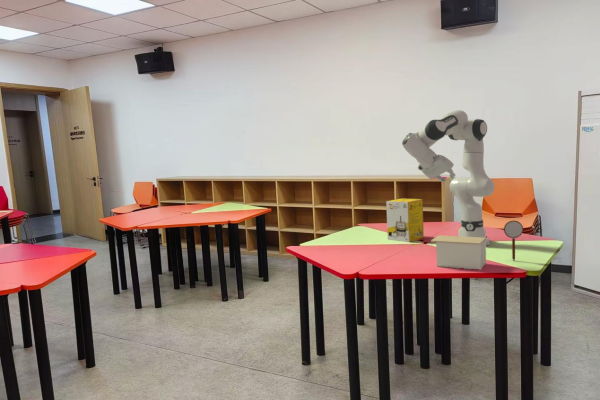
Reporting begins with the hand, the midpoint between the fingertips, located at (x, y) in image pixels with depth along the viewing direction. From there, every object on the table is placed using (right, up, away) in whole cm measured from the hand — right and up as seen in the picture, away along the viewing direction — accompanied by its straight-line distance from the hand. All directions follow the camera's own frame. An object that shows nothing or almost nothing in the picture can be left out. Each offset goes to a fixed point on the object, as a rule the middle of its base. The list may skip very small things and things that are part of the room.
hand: (449, 178), depth 221 cm
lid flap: (+2, -30, -7) cm, 31 cm away
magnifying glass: (+30, -41, -5) cm, 51 cm away
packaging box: (-6, -36, +64) cm, 73 cm away
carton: (+4, -42, -7) cm, 43 cm away
